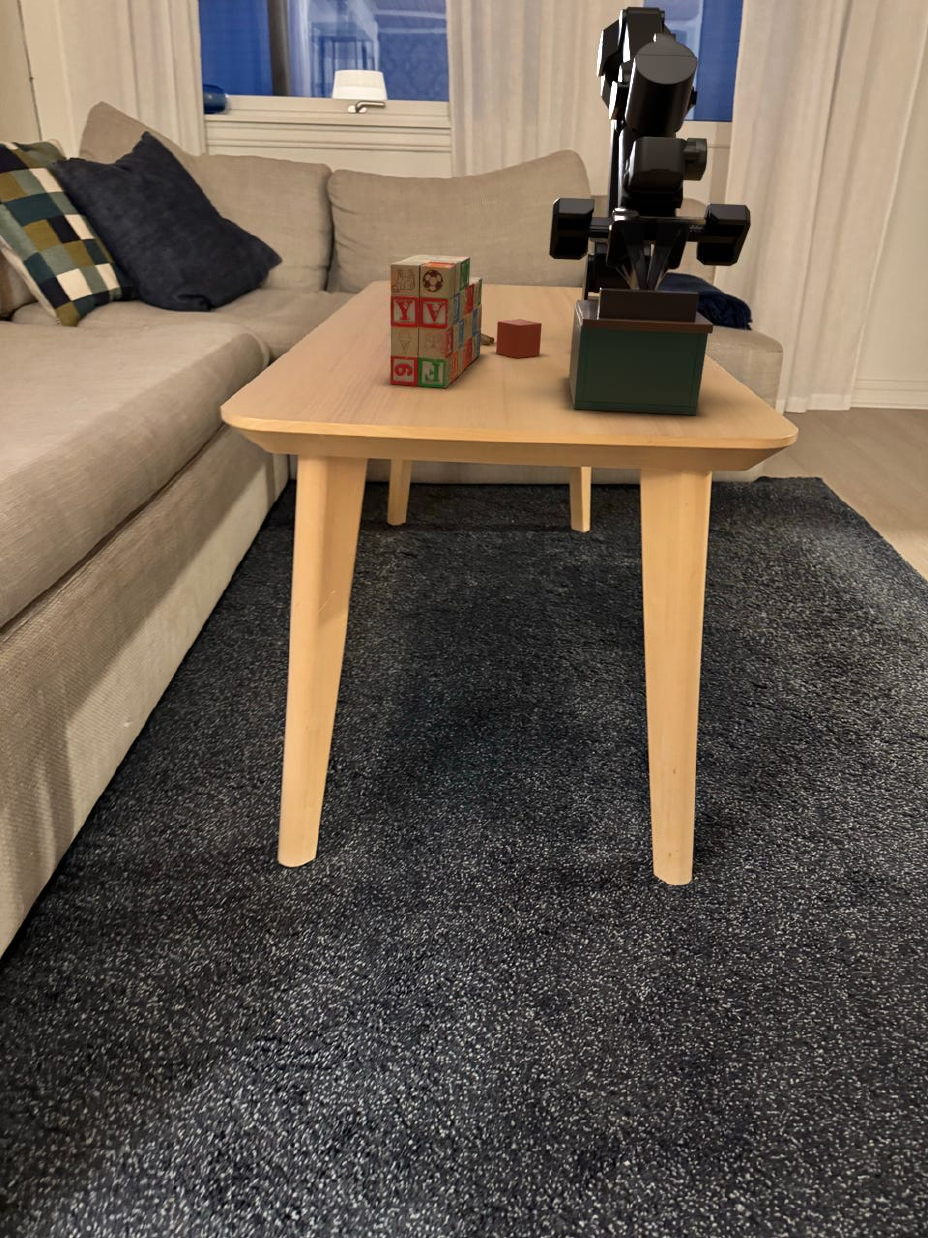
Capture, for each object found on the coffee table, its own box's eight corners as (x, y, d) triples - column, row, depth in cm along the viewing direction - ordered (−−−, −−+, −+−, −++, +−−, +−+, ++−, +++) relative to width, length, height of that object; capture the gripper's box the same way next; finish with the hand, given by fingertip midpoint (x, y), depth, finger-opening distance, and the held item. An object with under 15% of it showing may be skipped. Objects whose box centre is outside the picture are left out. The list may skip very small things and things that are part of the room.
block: (518, 350, 119) (519, 318, 117) (539, 355, 116) (542, 323, 115) (495, 353, 117) (497, 321, 115) (517, 358, 114) (519, 325, 112)
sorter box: (568, 379, 103) (574, 305, 100) (674, 384, 103) (684, 310, 99) (573, 409, 90) (581, 324, 86) (696, 415, 89) (708, 330, 86)
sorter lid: (575, 307, 98) (578, 274, 96) (687, 312, 97) (692, 279, 96) (582, 327, 84) (585, 289, 83) (712, 333, 84) (718, 295, 82)
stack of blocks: (432, 351, 116) (434, 248, 111) (480, 355, 115) (485, 250, 110) (389, 384, 97) (389, 261, 92) (446, 388, 96) (450, 264, 91)
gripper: (560, 101, 84) (553, 236, 79) (764, 107, 83) (771, 245, 78) (552, 194, 94) (545, 319, 89) (733, 201, 93) (737, 327, 88)
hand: (646, 302), depth 86 cm, fingers closed, pressing on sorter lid
